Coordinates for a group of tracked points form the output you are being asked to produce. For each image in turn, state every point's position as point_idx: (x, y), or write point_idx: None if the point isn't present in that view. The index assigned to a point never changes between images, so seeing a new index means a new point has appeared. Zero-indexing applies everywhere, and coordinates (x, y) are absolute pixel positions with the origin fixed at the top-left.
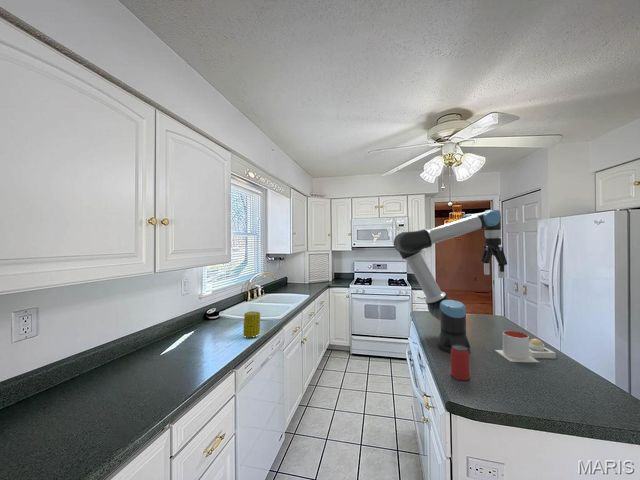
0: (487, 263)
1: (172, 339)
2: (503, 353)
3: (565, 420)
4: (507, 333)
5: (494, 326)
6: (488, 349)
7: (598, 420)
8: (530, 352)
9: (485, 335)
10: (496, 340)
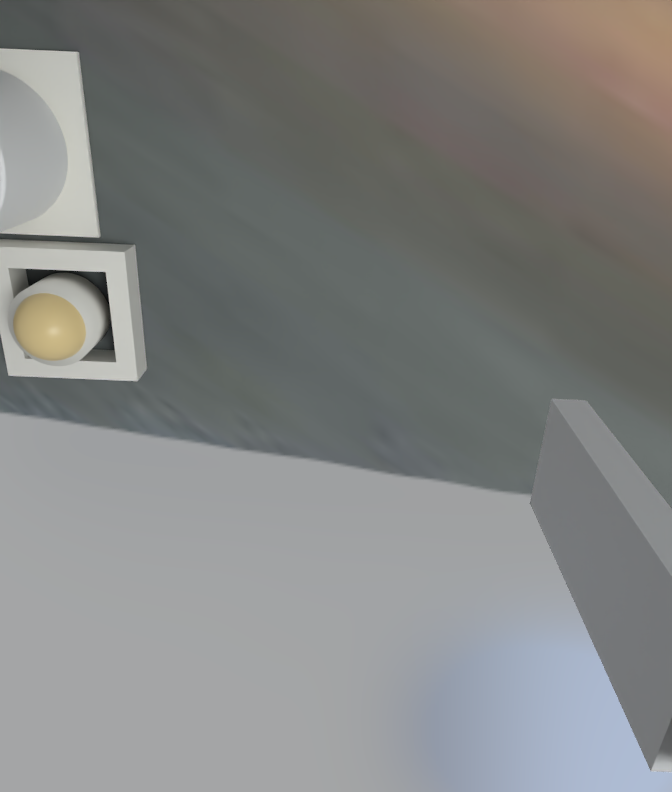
0: (670, 714)
1: None
2: (20, 78)
3: None
4: (5, 146)
5: (578, 364)
6: (98, 14)
7: None
8: (6, 244)
9: (391, 172)
10: (286, 194)
